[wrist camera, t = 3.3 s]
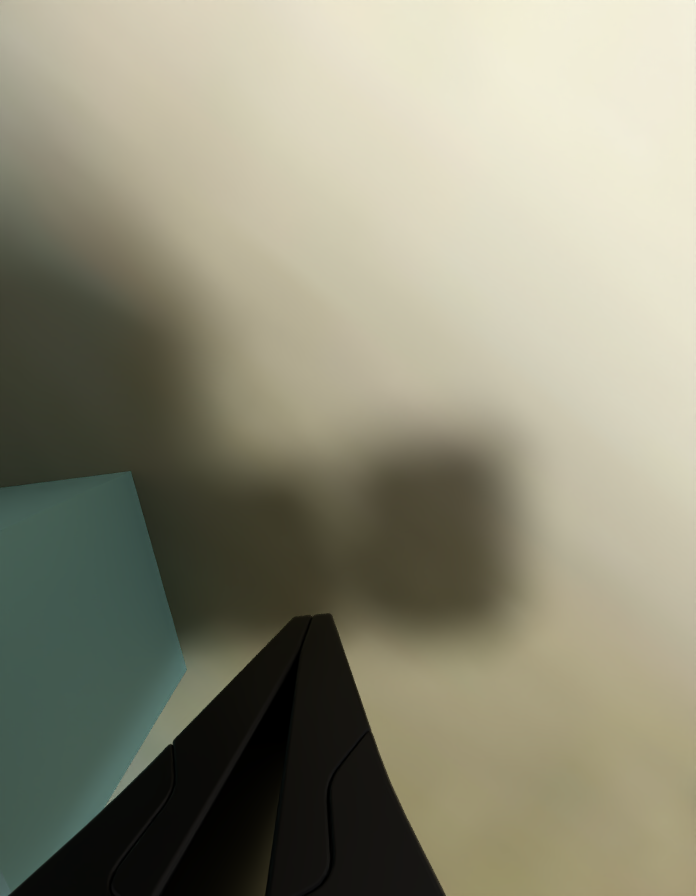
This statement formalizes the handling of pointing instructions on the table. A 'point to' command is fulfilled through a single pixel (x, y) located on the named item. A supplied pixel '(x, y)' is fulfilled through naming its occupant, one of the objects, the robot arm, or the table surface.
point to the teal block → (74, 658)
